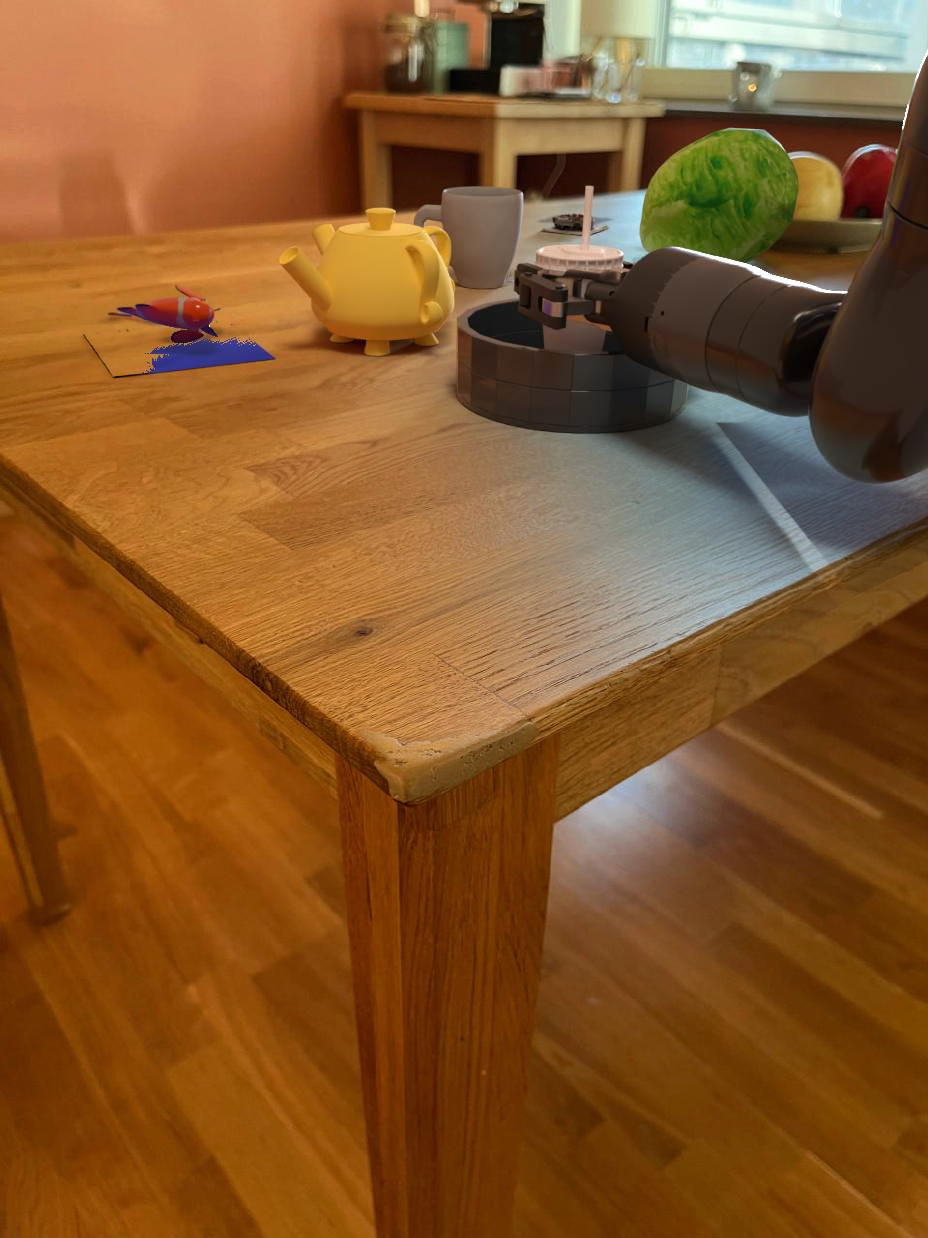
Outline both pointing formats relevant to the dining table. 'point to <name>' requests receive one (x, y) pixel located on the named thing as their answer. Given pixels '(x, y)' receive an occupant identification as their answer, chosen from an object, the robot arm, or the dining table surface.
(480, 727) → the dining table surface
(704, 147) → the lettuce
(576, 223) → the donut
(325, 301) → the teapot
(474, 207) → the mug
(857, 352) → the robot arm
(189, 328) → the fish
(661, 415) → the pot
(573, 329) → the smoothie
